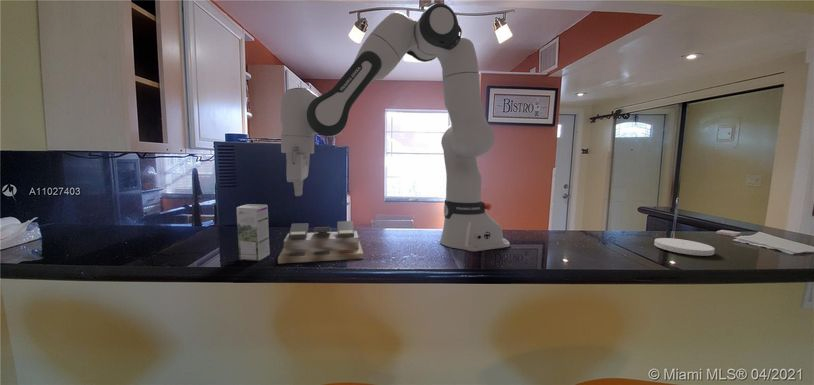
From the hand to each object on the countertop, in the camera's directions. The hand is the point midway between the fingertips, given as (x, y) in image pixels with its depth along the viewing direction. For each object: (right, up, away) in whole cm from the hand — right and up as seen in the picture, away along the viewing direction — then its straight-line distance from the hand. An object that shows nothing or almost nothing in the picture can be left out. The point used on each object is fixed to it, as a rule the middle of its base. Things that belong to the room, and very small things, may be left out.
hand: (298, 195), depth 88 cm
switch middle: (+7, -10, 0) cm, 12 cm away
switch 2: (+13, -10, +1) cm, 17 cm away
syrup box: (-10, -17, -5) cm, 21 cm away
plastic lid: (+118, -18, +8) cm, 120 cm away
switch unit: (+7, -17, -1) cm, 18 cm away
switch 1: (+1, -10, -2) cm, 10 cm away
